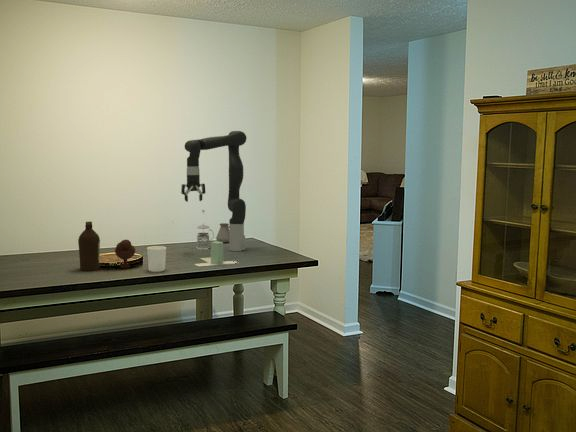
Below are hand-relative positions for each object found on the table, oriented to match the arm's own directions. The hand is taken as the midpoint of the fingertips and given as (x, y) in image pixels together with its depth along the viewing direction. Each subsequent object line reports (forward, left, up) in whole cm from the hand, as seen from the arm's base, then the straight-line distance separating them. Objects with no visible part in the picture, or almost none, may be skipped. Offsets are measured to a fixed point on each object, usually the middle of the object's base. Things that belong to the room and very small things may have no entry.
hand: (193, 201), depth 338 cm
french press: (-14, -20, -33) cm, 41 cm away
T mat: (-3, +24, -32) cm, 40 cm away
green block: (-3, +31, -32) cm, 45 cm away
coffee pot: (-35, -33, -33) cm, 58 cm away
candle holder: (+32, +35, -33) cm, 58 cm away
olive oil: (+63, +19, -33) cm, 73 cm away
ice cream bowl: (+45, +20, -33) cm, 59 cm away
